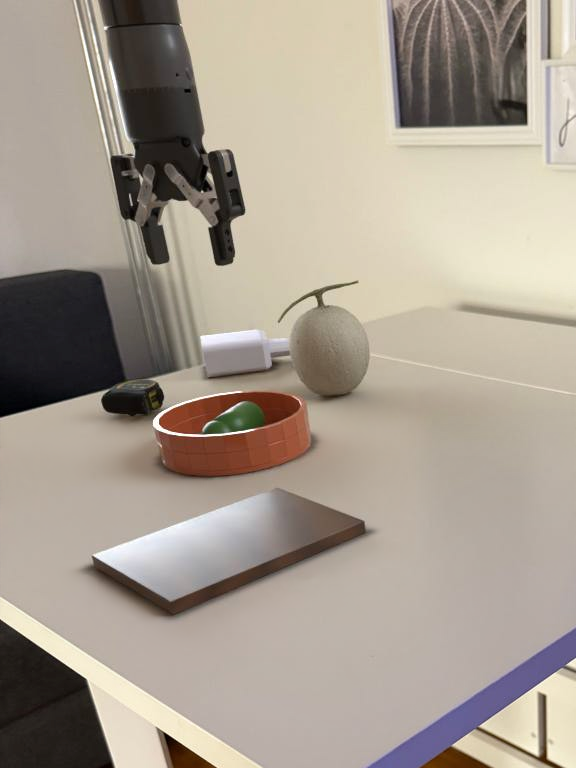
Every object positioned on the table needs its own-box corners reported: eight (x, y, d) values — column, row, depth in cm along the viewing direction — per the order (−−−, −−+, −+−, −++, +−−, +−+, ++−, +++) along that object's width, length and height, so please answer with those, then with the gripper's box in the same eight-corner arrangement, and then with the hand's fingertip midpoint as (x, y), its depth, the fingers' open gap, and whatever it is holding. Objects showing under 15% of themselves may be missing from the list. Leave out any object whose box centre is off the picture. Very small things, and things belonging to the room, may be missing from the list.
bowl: (213, 487, 99) (204, 447, 96) (135, 455, 109) (125, 418, 107) (340, 443, 109) (335, 405, 107) (258, 417, 120) (251, 383, 117)
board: (173, 615, 74) (170, 602, 74) (94, 567, 83) (90, 555, 83) (366, 532, 86) (364, 520, 86) (279, 498, 95) (277, 487, 94)
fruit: (288, 389, 131) (269, 276, 123) (369, 379, 133) (355, 268, 125) (292, 409, 122) (273, 290, 114) (379, 399, 124) (365, 280, 116)
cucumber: (230, 461, 104) (223, 426, 102) (198, 460, 105) (190, 425, 103) (272, 430, 113) (267, 397, 111) (243, 429, 114) (236, 396, 112)
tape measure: (103, 419, 123) (95, 391, 121) (134, 404, 129) (127, 377, 127) (146, 421, 121) (139, 393, 119) (176, 406, 127) (170, 378, 125)
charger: (308, 366, 141) (207, 379, 138) (301, 353, 149) (205, 365, 146) (303, 334, 139) (201, 347, 135) (296, 322, 146) (199, 334, 143)
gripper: (71, 90, 89) (115, 270, 97) (187, 80, 83) (224, 271, 92) (126, 87, 95) (164, 257, 103) (239, 78, 89) (269, 258, 97)
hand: (192, 264), depth 97 cm, fingers open, 8 cm apart
